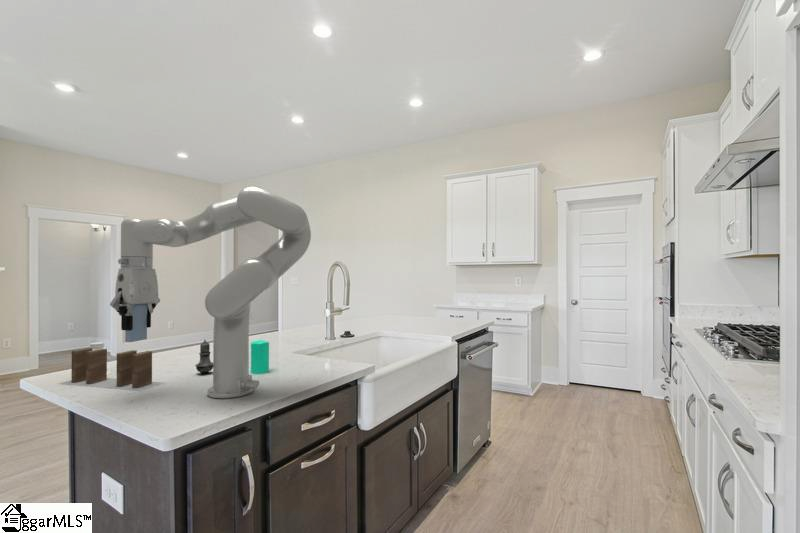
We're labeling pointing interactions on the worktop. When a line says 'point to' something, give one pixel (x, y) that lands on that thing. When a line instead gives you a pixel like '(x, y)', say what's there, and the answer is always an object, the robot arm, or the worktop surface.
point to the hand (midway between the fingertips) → (136, 328)
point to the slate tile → (138, 324)
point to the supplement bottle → (97, 345)
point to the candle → (259, 357)
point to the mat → (111, 385)
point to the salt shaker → (204, 360)
